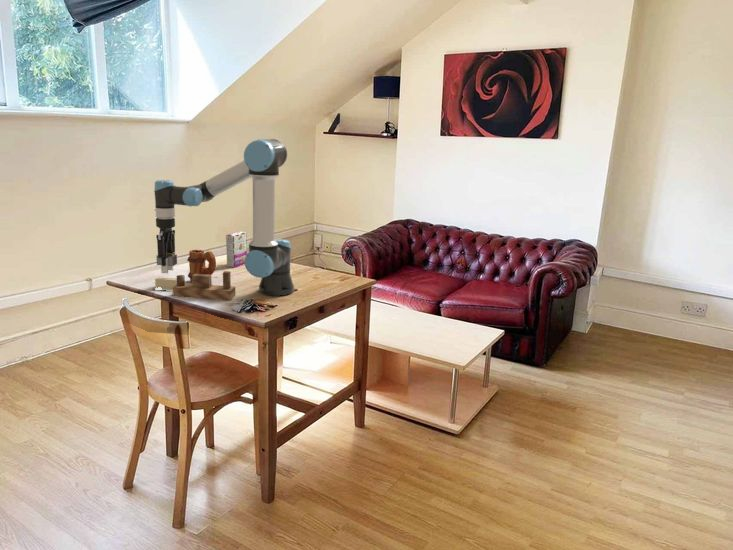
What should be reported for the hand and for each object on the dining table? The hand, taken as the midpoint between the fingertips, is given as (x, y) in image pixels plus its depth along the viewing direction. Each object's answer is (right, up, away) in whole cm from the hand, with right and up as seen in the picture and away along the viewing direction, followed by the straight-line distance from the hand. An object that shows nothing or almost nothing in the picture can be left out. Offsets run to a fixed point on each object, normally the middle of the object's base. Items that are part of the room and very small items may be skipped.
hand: (167, 271), depth 243 cm
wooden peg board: (+18, -10, -7) cm, 22 cm away
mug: (+12, -5, +12) cm, 17 cm away
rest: (0, -7, +2) cm, 7 cm away
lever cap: (0, +3, -1) cm, 3 cm away
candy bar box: (+19, +3, +45) cm, 49 cm away
